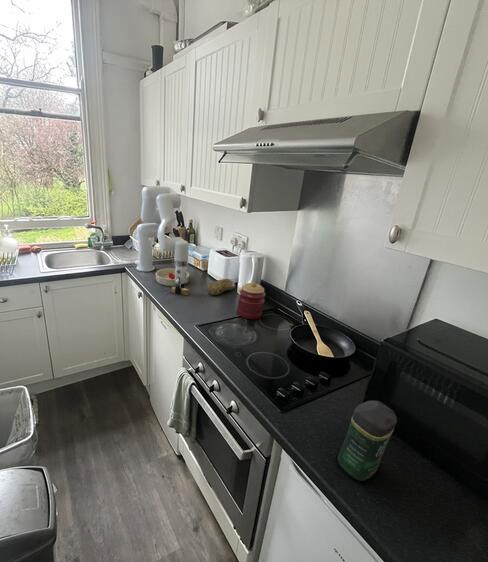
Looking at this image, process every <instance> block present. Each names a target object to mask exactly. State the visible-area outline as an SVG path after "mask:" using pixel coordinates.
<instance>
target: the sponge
mask: <svg viewBox="0 0 488 562" xmlns="http://www.w3.org/2000/svg"><path fill="white" fill-rule="evenodd" d="M235 288H236V283H235V282H234V281H233V280H232V279H229V278H222V279H217V280H214V281H212V282H209V283H207V286H206V289H207V292H208V294H209V295H212V296H219V295H221V294H223V293H224V292H226V291H232V290H234V289H235Z"/></svg>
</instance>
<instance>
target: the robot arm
mask: <svg viewBox="0 0 488 562" xmlns="http://www.w3.org/2000/svg"><path fill="white" fill-rule="evenodd" d="M141 199H142V205H141V212H140V221H141V223H140V224H138V225H137V227H136V235H137V236H136V237H137V257H138V259H137V260H135V262H134V264H135V265H136V266H135V269H136V271H139V272H142V273H144V272H145V273H146V272H147V273H148V272H153V271H154V270H155V266H154V265H153V243H152V241H151V238H157V240H158V244H159V247H160V249H161V251H162V252H166V253H167V252H174V258H173V259H174V261H173V262H174V263H173V264H174V266H175V268H176V271H175V283H176V285H175V286H174V287H175V293H174V294H175V295H178V296H179V295H182V294H181V288H185V286H186V284H185V281H186V279H187V272H188V268H187V267H188V266H189V247H190V243H189V242H188V241H187V240H185V239H184V238H183V237H181V236H175V237H173V236H172V237H166V234H165V233H166V232H165V229H166V228H167V226H169V225H171V224H173V223H174V222H175V221H177V217H176V213H175V209H179V208H180V207H181V205H182V199H181V197H180V195H179V194H178V192H177V191H175V190H174V189H173V188H171V187H170V186H157V185H147V186H144V187H142V190H141ZM178 284H179V285H178Z"/></svg>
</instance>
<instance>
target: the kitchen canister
mask: <svg viewBox="0 0 488 562" xmlns="http://www.w3.org/2000/svg"><path fill="white" fill-rule="evenodd" d="M238 292H239V296H238V302H237V308H236V311H237V315H239V316H240V317H241V318H243V319H247V320H258V319H260V318H262V317H263V316H262V315H263V313H264V304H265V297H266V292H265V288H264V287H263V286H262V285H260V284H258V283H257V282H255V281H251V282H248V283H245V284H243V285H241V288H240V289H239V291H238Z"/></svg>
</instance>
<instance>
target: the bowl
mask: <svg viewBox="0 0 488 562" xmlns="http://www.w3.org/2000/svg"><path fill="white" fill-rule="evenodd" d="M175 271H176V267H175V268H173V267H168V268H167V267H166V268H161V269H159V270H157V271H156V272H155V281H156V282H157V284H160V285H162V286H167V287H175V285H176V283H175V279H171V278H170V277H169V276H168V275H169V273H173V275H175ZM189 282H190V272H189V271H187V279H186V281H185V285H186V284H188V283H189ZM178 285H179V284H178Z"/></svg>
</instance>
